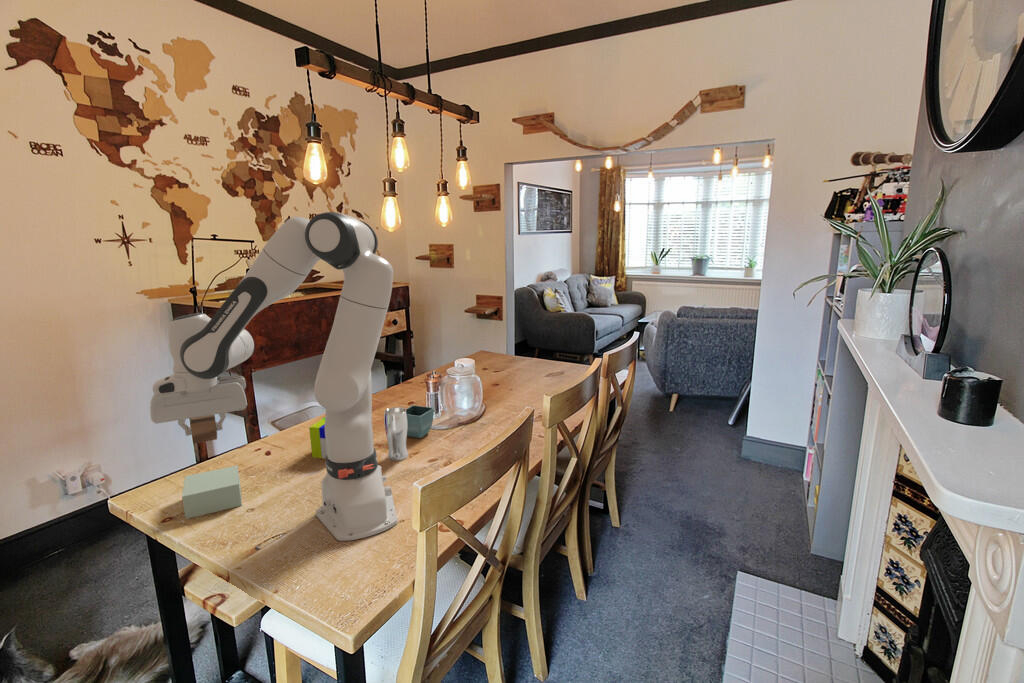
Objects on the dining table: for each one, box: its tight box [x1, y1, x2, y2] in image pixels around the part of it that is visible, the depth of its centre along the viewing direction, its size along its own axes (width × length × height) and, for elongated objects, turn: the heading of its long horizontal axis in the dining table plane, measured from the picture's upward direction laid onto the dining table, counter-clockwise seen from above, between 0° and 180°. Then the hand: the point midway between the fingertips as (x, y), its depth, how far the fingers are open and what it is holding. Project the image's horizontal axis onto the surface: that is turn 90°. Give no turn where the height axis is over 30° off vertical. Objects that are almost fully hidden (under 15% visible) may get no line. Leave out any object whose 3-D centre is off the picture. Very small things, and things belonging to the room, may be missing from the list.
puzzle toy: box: [308, 417, 327, 459], centre depth 154 cm, size 10×10×10 cm
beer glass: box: [383, 406, 409, 462], centre depth 150 cm, size 7×7×15 cm
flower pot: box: [405, 404, 435, 439], centre depth 167 cm, size 9×9×9 cm
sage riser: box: [181, 464, 243, 520], centre depth 126 cm, size 12×12×6 cm
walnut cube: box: [190, 414, 218, 444], centre depth 122 cm, size 5×5×5 cm
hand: (204, 432), depth 122 cm, fingers closed on walnut cube, 5 cm apart
